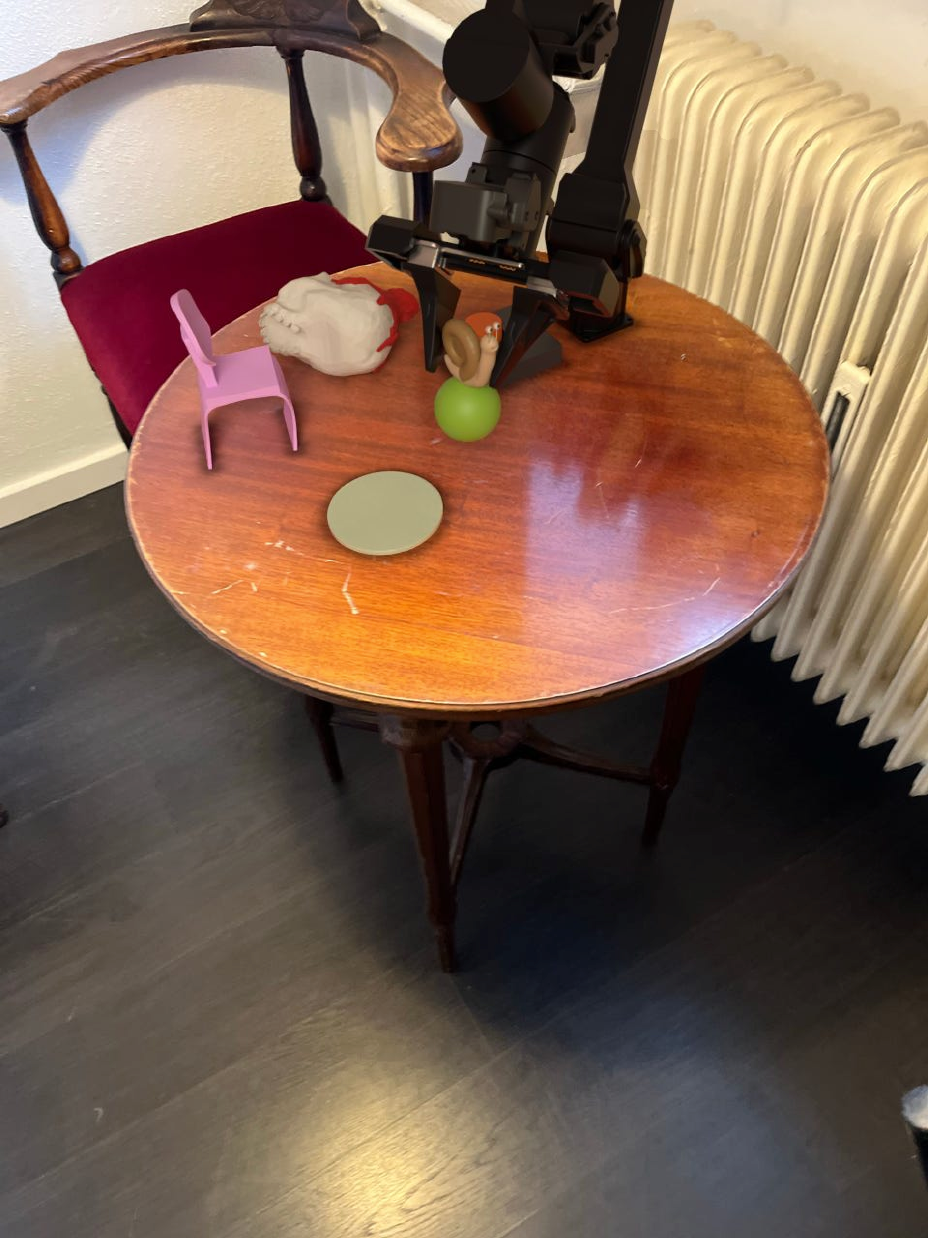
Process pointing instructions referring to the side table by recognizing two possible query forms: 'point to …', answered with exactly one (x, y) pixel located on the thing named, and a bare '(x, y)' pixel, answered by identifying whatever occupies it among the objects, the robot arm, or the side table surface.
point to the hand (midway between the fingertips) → (460, 379)
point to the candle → (336, 323)
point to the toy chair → (229, 370)
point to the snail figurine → (468, 383)
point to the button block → (528, 353)
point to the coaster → (385, 513)
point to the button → (484, 324)
